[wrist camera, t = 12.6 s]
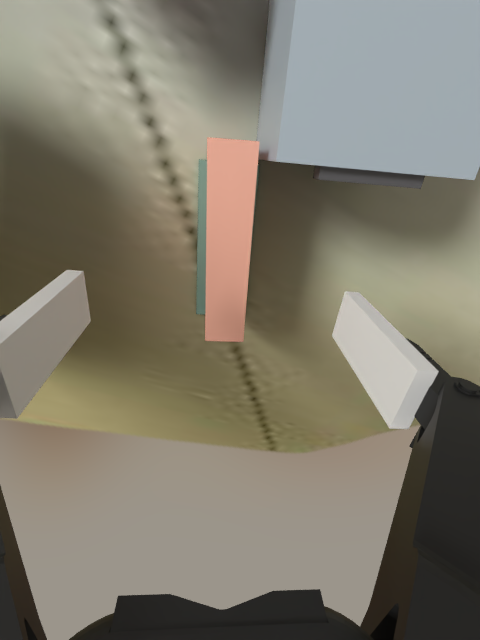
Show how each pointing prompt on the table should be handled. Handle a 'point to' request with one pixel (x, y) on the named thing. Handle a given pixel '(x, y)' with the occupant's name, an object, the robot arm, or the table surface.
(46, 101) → the table surface
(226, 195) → the long salmon pink block
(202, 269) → the mat
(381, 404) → the robot arm
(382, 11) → the pale blue cube
